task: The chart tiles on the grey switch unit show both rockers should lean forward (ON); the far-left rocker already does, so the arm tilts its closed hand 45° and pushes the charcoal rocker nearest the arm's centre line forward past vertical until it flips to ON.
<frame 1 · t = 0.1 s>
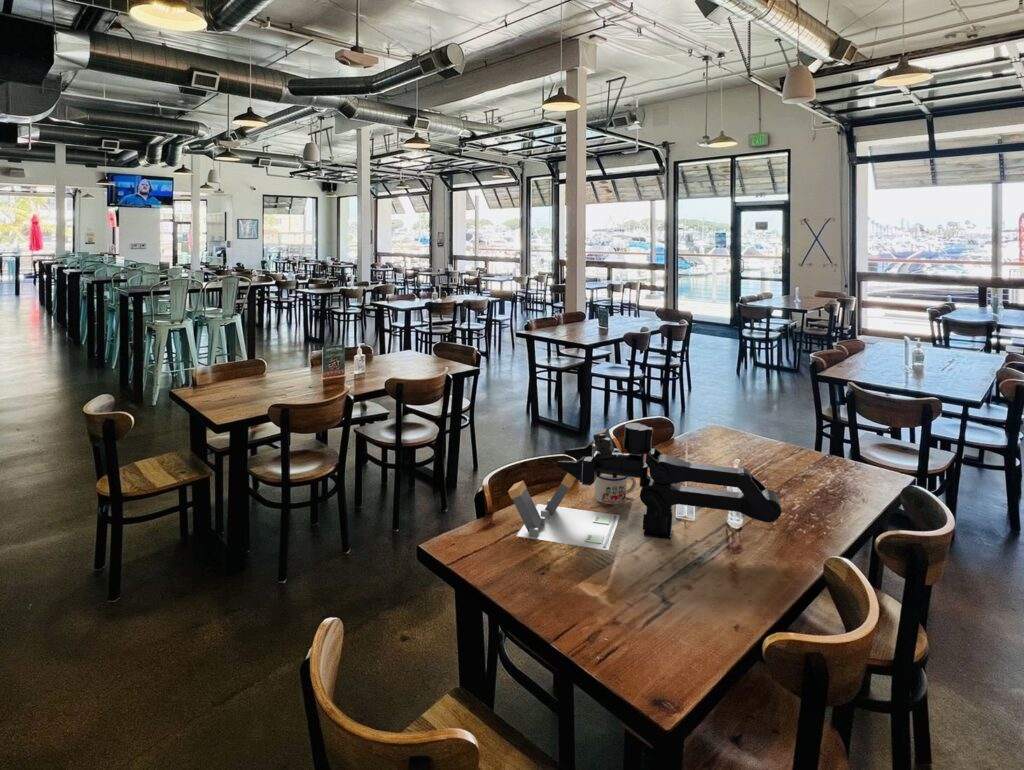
hand: (561, 457, 164), 17 cm above the table, tool horizontal, fingers open, 9 cm apart
switch unit: (569, 530, 160), on the table
rocker b: (525, 506, 156), point 7 cm above the table, hinge at 28.0°
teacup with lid: (614, 503, 178), on the table
rocker a: (560, 493, 165), point 7 cm above the table, hinge at -28.0°
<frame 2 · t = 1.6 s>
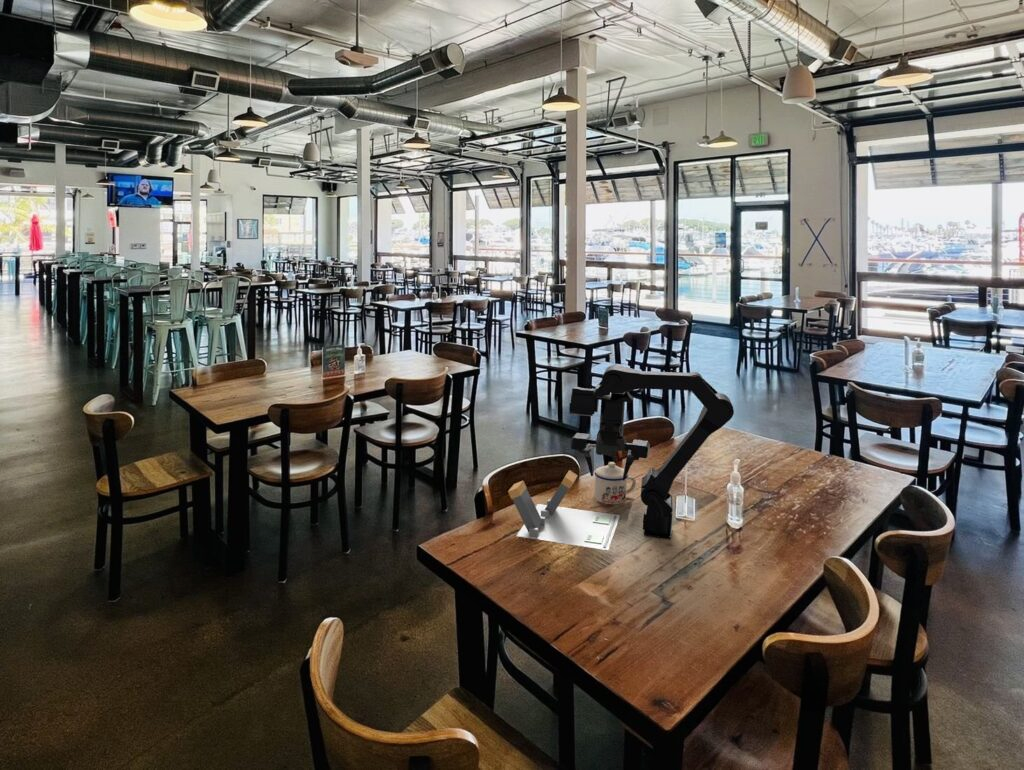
hand: (607, 477, 160), 13 cm above the table, tool pointing down, fingers open, 8 cm apart
nothing on the table moved.
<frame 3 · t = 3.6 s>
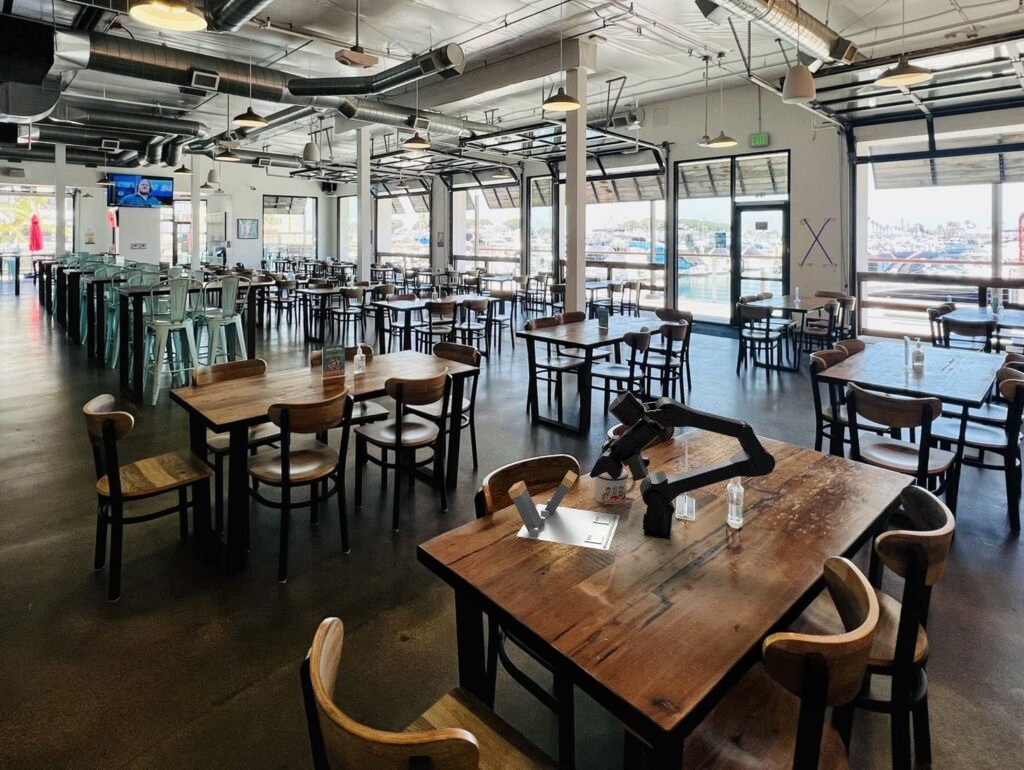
hand: (590, 476, 161), 13 cm above the table, tool tilted 45°, fingers closed
nothing on the table moved.
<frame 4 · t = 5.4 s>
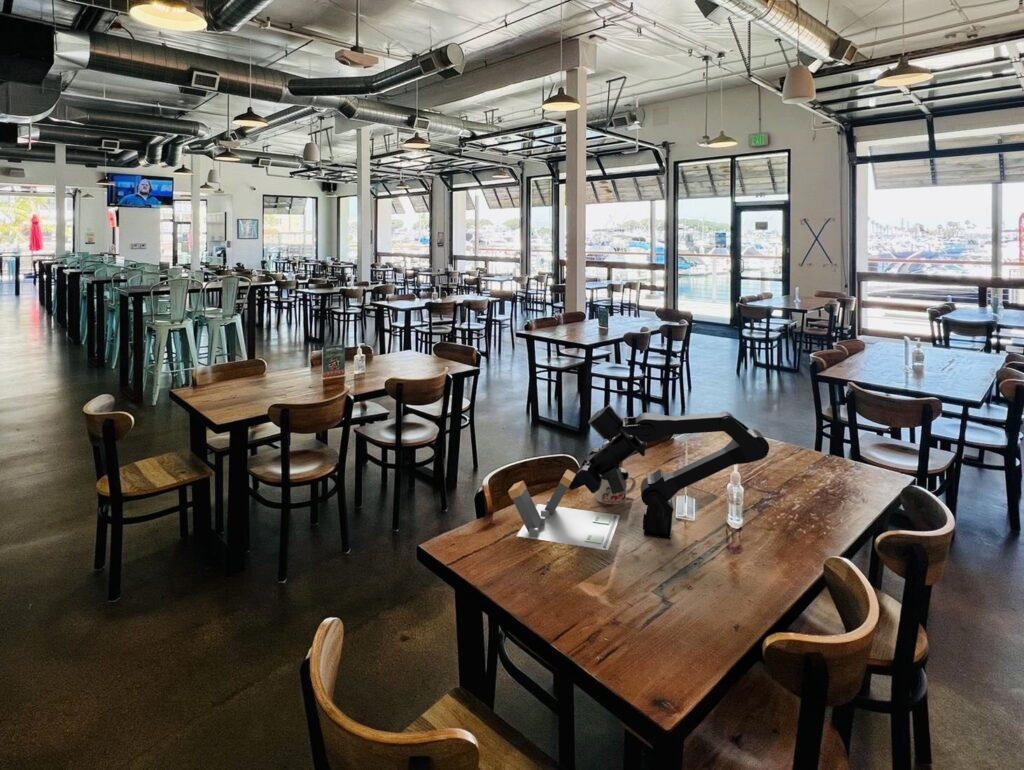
hand: (570, 488, 163), 9 cm above the table, tool tilted 45°, fingers closed, pressing on rocker a
rocker a: (559, 492, 165), point 7 cm above the table, hinge at -25.6°, touching gripper
everything else where it was.
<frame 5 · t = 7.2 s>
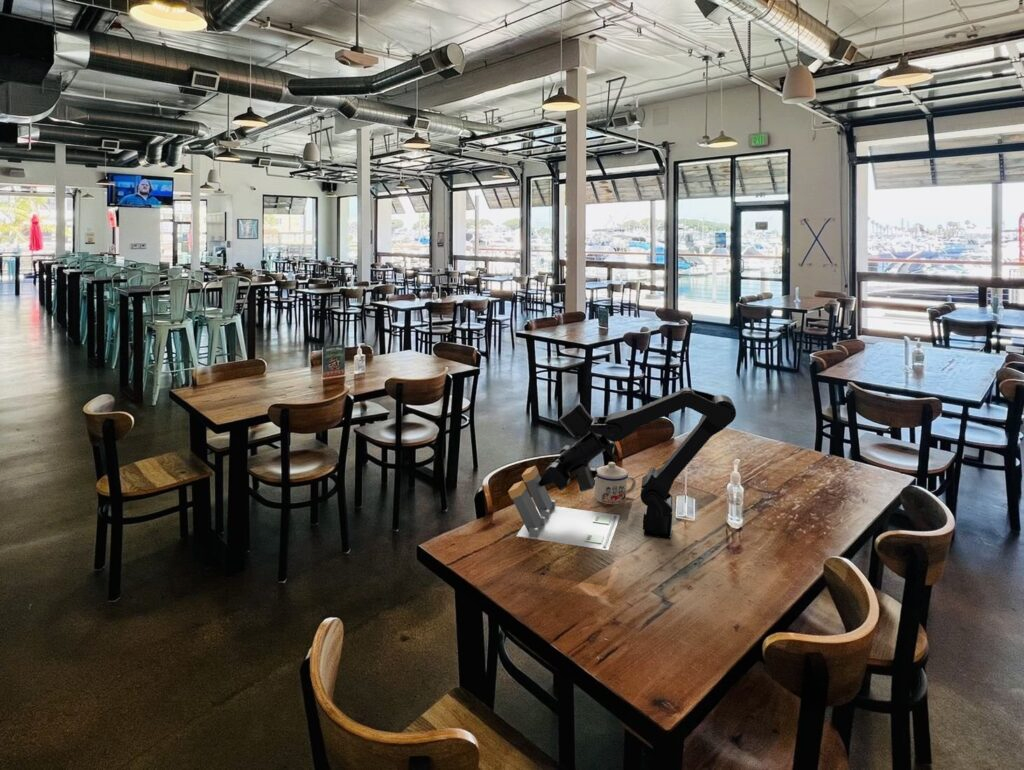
hand: (539, 484, 166), 9 cm above the table, tool tilted 45°, fingers closed, pressing on rocker a
rocker a: (537, 489, 166), point 7 cm above the table, hinge at 27.0°, touching gripper
everything else where it was.
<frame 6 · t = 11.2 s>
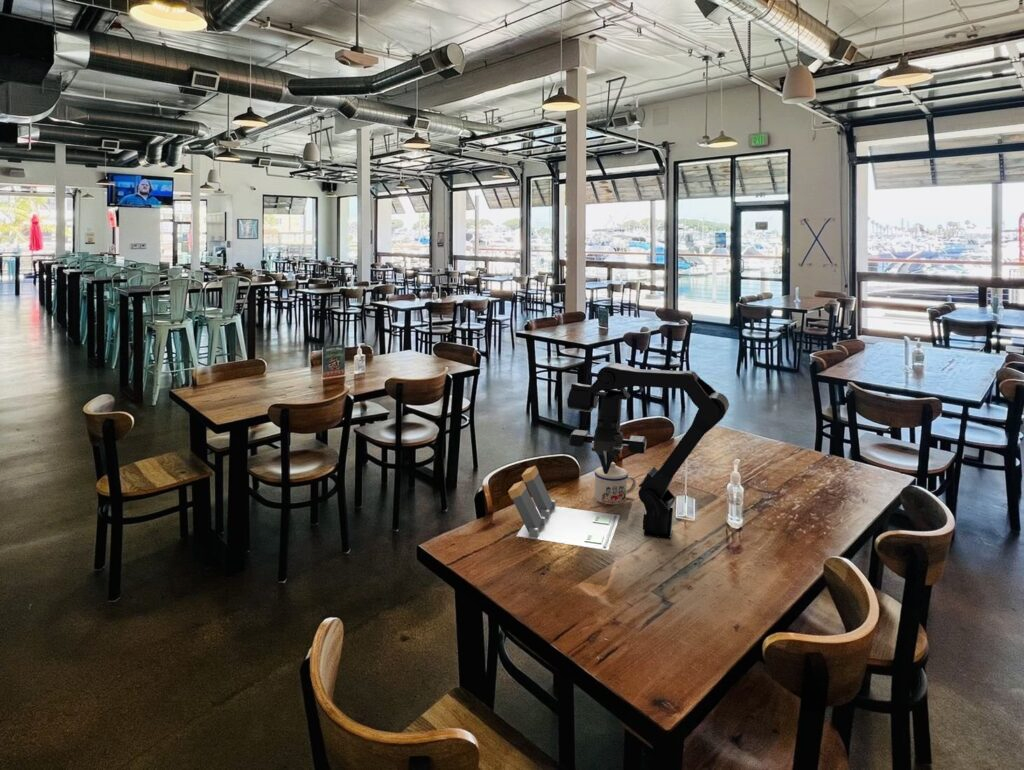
hand: (605, 473, 163), 13 cm above the table, tool pointing down, fingers closed
rocker a: (537, 489, 166), point 7 cm above the table, hinge at 27.1°
everything else where it was.
at the end: rocker a at +27° (first picture: -28°); rocker b at +28° (first picture: +28°) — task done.
